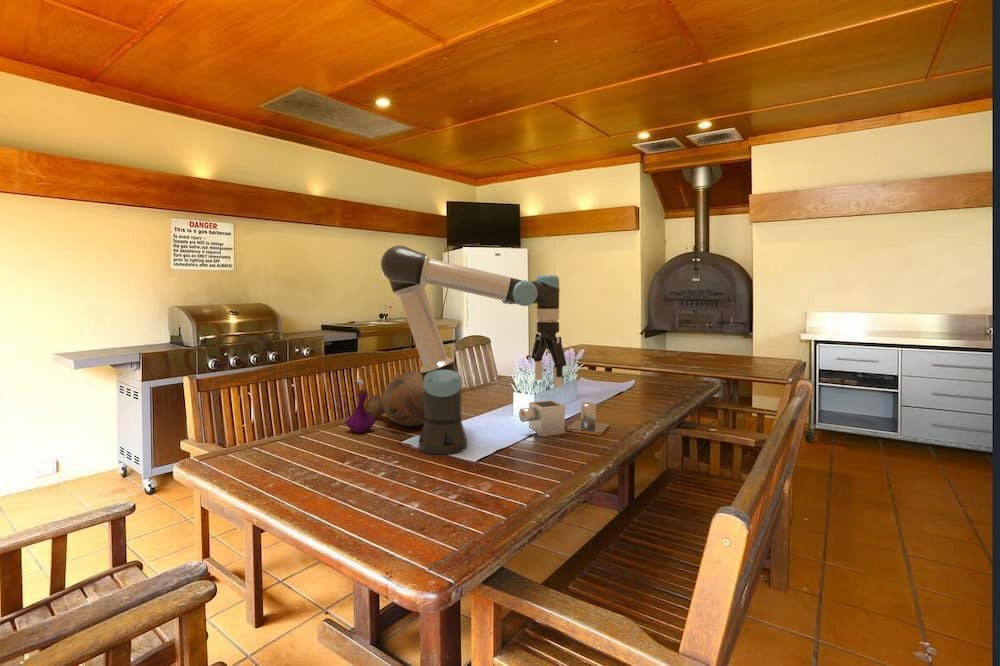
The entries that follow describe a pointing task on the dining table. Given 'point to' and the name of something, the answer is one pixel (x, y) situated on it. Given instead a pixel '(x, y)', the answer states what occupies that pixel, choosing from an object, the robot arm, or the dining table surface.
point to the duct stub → (588, 419)
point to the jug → (400, 400)
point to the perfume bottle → (360, 413)
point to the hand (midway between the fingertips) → (547, 383)
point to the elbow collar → (544, 417)
